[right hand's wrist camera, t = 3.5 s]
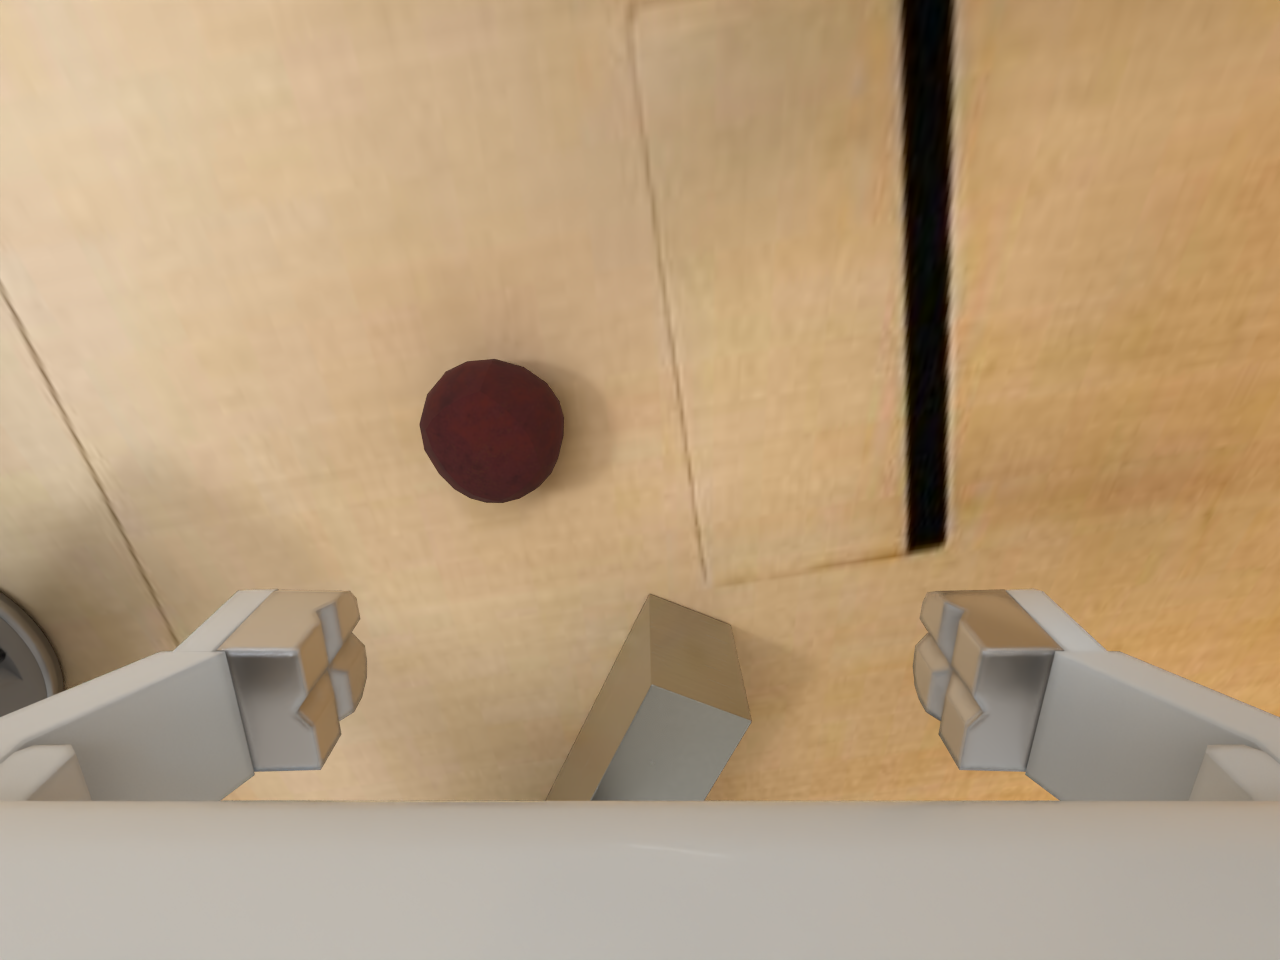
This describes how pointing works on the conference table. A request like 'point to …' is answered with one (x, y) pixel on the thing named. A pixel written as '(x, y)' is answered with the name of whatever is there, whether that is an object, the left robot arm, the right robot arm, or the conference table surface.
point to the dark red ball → (492, 430)
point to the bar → (661, 713)
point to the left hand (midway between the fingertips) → (558, 862)
